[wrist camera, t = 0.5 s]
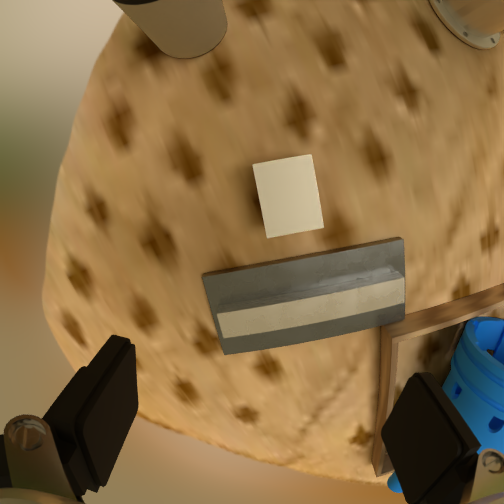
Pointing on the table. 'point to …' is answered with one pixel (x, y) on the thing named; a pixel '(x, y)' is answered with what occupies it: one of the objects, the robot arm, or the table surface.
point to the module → (288, 195)
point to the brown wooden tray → (416, 327)
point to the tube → (477, 384)
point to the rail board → (306, 280)
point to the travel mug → (179, 24)
